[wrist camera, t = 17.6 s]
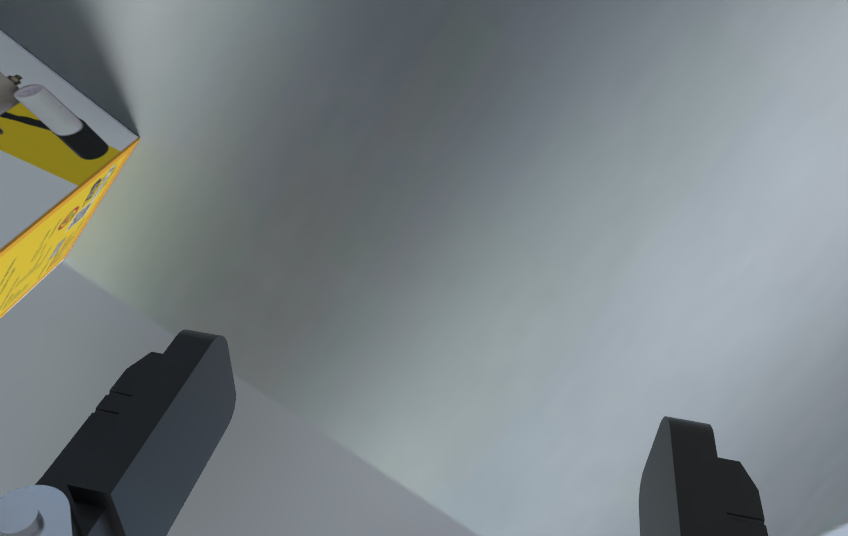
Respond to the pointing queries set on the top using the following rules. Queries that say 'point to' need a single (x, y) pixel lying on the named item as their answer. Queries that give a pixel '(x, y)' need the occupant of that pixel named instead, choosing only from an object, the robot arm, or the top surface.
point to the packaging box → (48, 167)
